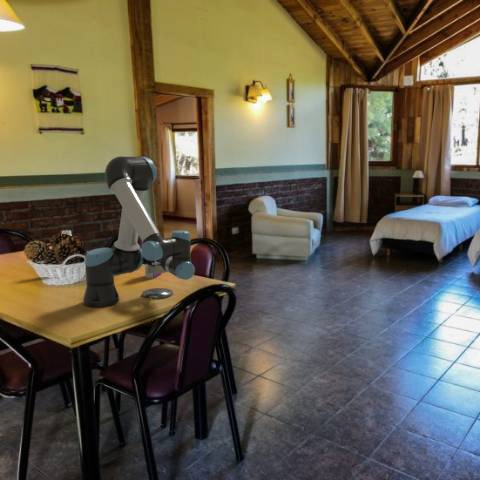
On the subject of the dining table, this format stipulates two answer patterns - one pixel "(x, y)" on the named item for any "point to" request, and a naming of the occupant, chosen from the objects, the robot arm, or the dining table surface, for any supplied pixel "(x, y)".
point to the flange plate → (157, 293)
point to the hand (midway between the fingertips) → (154, 255)
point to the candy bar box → (150, 275)
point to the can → (156, 269)
